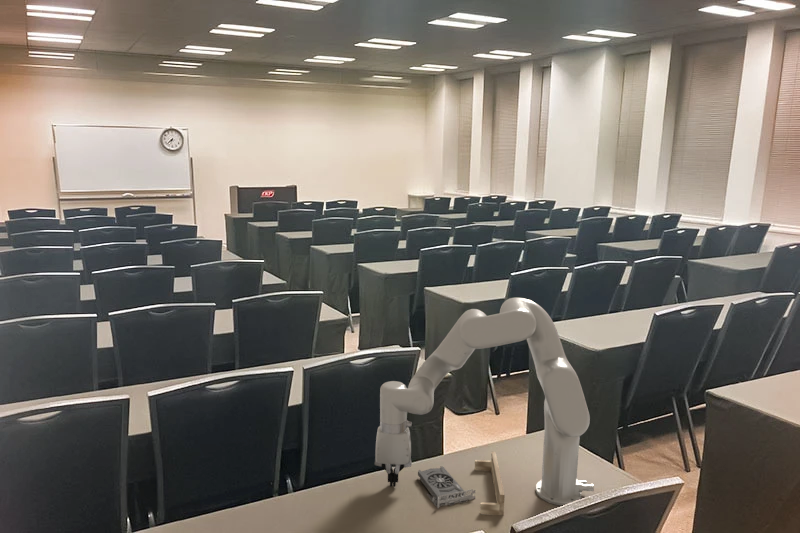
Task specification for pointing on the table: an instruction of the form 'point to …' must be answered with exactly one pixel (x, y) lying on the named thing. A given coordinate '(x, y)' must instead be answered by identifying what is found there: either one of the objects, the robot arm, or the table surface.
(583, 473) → the table surface
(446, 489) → the graphics card
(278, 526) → the table surface
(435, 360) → the robot arm
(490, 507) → the birch bracket
